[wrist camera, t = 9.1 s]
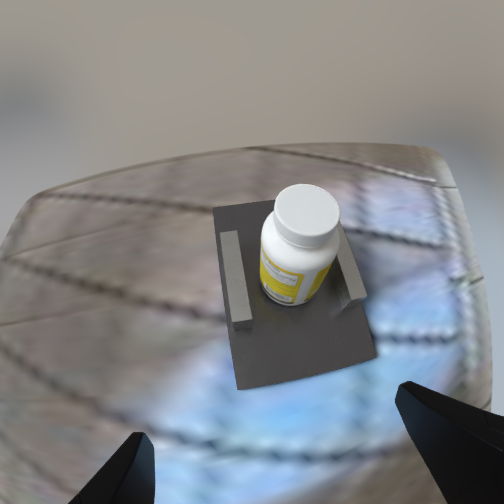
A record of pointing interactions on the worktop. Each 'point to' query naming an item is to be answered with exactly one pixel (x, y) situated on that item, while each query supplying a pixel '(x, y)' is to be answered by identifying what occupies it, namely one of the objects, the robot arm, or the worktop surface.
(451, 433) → the robot arm
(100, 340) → the worktop surface
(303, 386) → the worktop surface
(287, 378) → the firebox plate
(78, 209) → the worktop surface
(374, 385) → the worktop surface
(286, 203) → the supplement bottle
